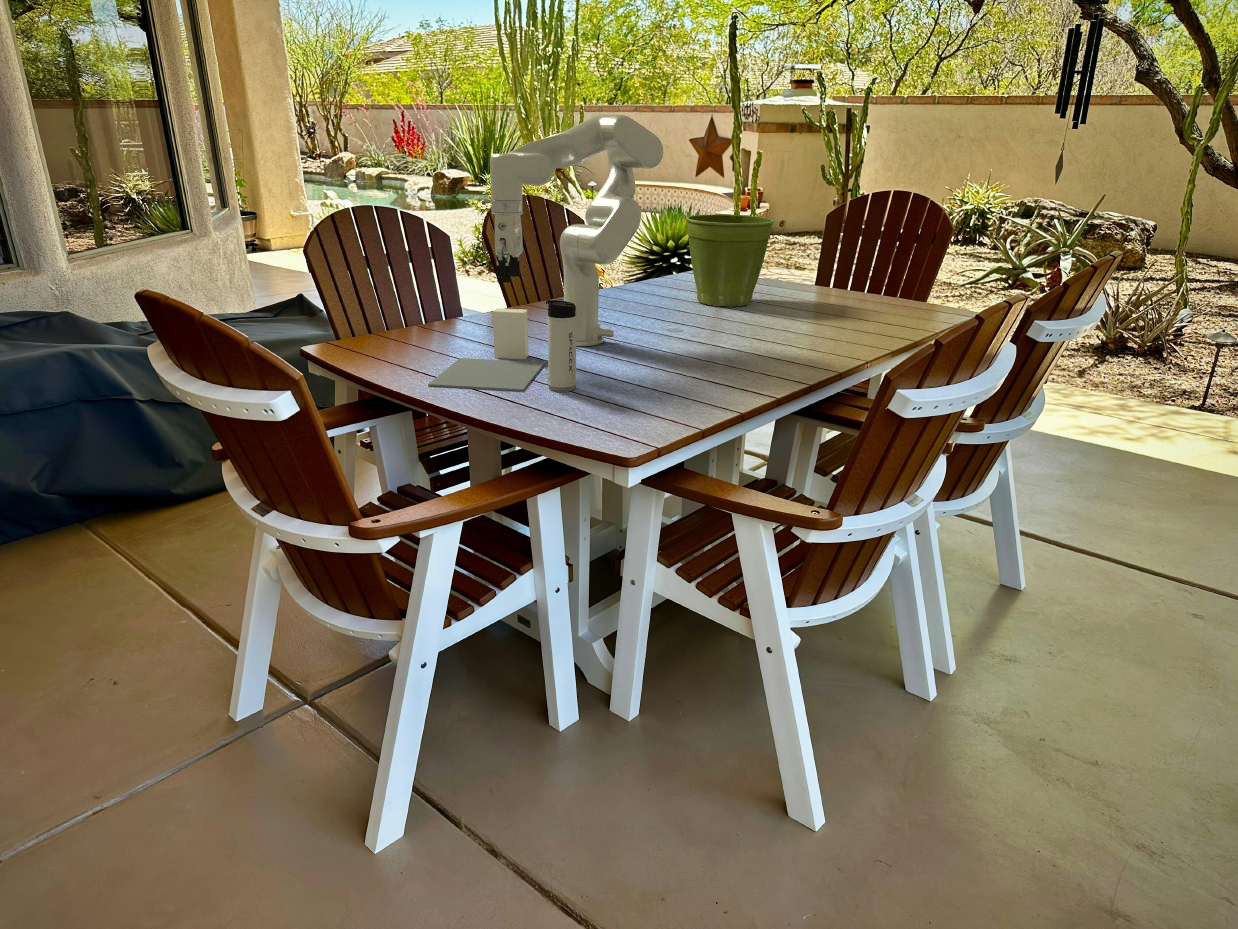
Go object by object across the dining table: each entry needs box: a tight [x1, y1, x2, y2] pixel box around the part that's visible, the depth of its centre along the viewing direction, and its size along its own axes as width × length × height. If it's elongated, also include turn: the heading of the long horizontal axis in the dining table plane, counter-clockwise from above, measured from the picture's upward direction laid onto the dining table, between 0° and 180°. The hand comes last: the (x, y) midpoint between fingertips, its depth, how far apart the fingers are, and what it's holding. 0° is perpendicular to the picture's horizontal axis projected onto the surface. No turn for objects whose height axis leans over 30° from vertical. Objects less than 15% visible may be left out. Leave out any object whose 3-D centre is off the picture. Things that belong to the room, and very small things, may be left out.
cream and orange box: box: [492, 307, 530, 360], centre depth 208 cm, size 8×4×12 cm, turn 83°
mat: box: [428, 357, 546, 392], centre depth 194 cm, size 22×24×1 cm
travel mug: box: [545, 299, 577, 393], centre depth 181 cm, size 6×7×20 cm
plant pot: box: [685, 214, 775, 307], centre depth 281 cm, size 30×30×29 cm
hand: (508, 279), depth 203 cm, fingers open, 9 cm apart
